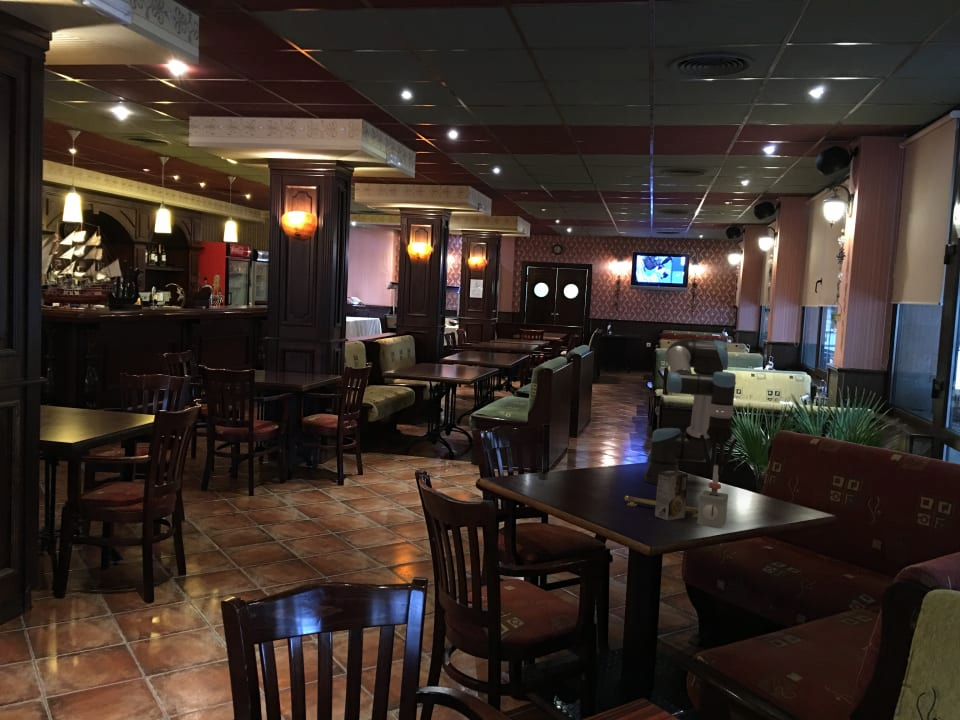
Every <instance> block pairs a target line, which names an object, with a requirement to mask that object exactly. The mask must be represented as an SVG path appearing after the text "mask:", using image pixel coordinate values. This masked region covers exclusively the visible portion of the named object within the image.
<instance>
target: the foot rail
mask: <svg viewBox="0 0 960 720" xmlns="http://www.w3.org/2000/svg"><path fill="white" fill-rule="evenodd" d="M624 501H626V502H628V503H626V505H627V506H630V507H631V506H632V507H636V506H637V505H638V504H637V503H639V504H646V505H650V506H656V500H652V499H645V498H639V497H636V496H635V497H634V496H629V495H625V496H624ZM698 510H699V507H698V508H697V507H692V506H687V505H686V507H685V512H690V513H691V512H692V513H694V514H693V515H692V518H693V517H694V518H698Z"/></svg>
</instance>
